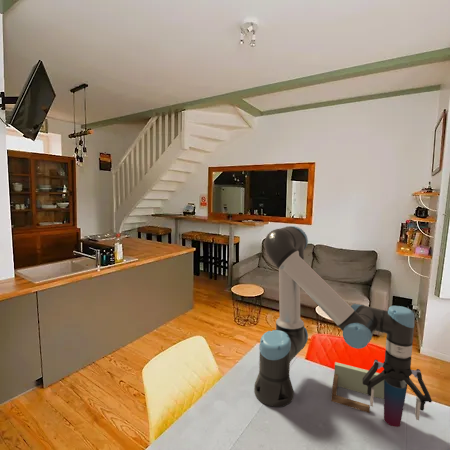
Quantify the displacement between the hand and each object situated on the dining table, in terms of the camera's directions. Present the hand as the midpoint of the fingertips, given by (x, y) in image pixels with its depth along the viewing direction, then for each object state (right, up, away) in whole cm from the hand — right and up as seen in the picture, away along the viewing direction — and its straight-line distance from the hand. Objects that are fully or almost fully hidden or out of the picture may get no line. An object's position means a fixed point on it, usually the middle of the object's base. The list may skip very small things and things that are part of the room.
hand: (393, 410), depth 98 cm
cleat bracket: (-10, -3, +12) cm, 16 cm away
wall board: (-2, -2, +14) cm, 15 cm away
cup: (0, -4, +1) cm, 4 cm away
